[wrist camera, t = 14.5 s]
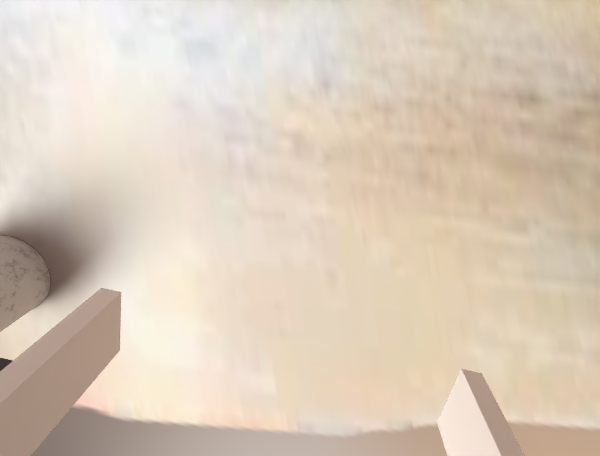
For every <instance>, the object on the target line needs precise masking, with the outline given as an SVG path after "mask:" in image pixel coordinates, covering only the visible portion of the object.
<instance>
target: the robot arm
mask: <svg viewBox="0 0 600 456" xmlns="http://www.w3.org/2000/svg"><path fill="white" fill-rule="evenodd" d="M120 319H121V292H117V291H113V290H109V289H104V288H101V289H100V290H99V291H97V292H96V293H95V294H94V295H92V296H91V297H90V298H89V299H88V300H86V301H85V302H84V303H83V304H82V305H80V306H79V307H78V308H77V309H75V310H74V311H73V312H72V313H71V314H69V315H68V316H67V317H66V318H65V319H63V320H62V321H61V322H60V323H58V324H57V325H56V326H55V327H54V328H52V329H51V330H50V331H49V332H48V333H46V334H45V335H44V336H43V337H42V338H40V339H39V340H38V341H37V342H35V343H34V344H33V345H32V346H31V347H29V348H28V349H27V350H26V351H25V352H23V353H22V354H21V355H20V356H18V357H17V358H16V359H15V360H14V361H12V360H8V359H3V358H0V456H30V455H31V454H32V453H33V452H34V451H35V450H36V448H37V447H38V446H39V445H40V444H41V443H42V441H43V440H44V439H45V438H46V437H47V435H48V434H49V433H50V432H51V431H52V430H53V428H54V427H55V426H56V425H57V423H58V422H59V421H60V420H61V419H62V418H63V417H64V415H65V414H66V413H67V412H68V411H69V409H70V408H71V407H72V406H73V405H74V404H75V402H76V401H77V400H78V399H79V398H80V396H81V395H82V394H83V393H84V392H85V391H86V389H87V388H88V387H89V386H90V385H91V383H92V382H93V381H94V380H95V379H96V378H97V376H98V375H99V374H100V373H101V372H102V370H103V369H104V368H105V367H106V366H107V365H108V363H109V362H110V361H111V360H112V359H113V358H114V356H115V355H116V354H117V353H118V352H119V350H120ZM437 423H438V427H439V430H440V433H441V436H442V440H443V443H444V446H445V449H446V453H447V455H448V456H525V455H524V453H523V452H522V450H521V448H520V446H519V444H518V442H517V440H516V438H515V436H514V434H513V432H512V430H511V429H510V427H509V425H508V423H507V421H506V419H505V417H504V415H503V413H502V411H501V409H500V408H499V406H498V404H497V402H496V400H495V398H494V396H493V394H492V392H491V390H490V388H489V387H488V385H487V383H486V381H485V379H484V377H483V375H482V374H481V373H477V372H472V371H468V370H464V369H461V371H460V373H459V376H458V378H457V380H456V382H455V385H454V387H453V389H452V391H451V393H450V396H449V398H448V400H447V402H446V404H445V407H444V409H443V411H442V413H441V415H440V418H439V420H438V422H437Z"/></svg>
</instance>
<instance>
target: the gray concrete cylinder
mask: <svg viewBox="0 0 600 456" xmlns="http://www.w3.org/2000/svg"><path fill="white" fill-rule="evenodd" d="M49 289H50V274H49V270H48V268H47V265H46V263H45V261H44V260H43V259H42V257H41V256H40V255H39V253H38V252H37V251H35V250H34V249H33V248H32V247H31V246H30V245H28V244H26V243H25V242H23V241H21V240H19V239H16V238H14V237H9V236H4V235H0V332H1V331H2V330H3V329H5V328H6V327H8V326H9V325H10V324H12V323H13V322H15V321H16V320H18V319H19V318H20V317H22V316H23V315H25V314H26V313H27V312H29V311H30V310H32V309H33V308H35V307H37V306H39V305H40V304H41V303H42V302H43V301H44V300H45V298H46V297H47V295H48V293H49Z"/></svg>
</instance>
